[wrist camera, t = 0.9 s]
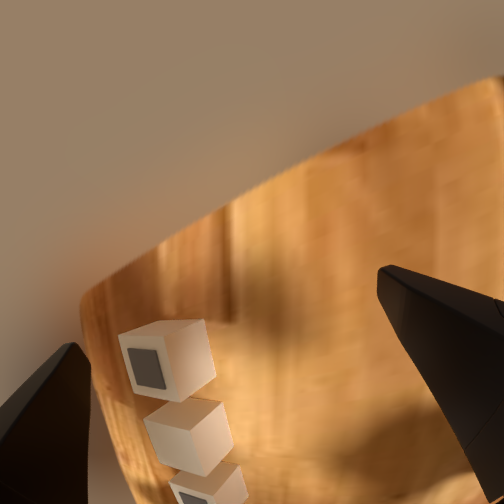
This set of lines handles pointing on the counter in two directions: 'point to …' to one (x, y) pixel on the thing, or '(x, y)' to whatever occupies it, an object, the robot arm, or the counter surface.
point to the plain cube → (190, 434)
